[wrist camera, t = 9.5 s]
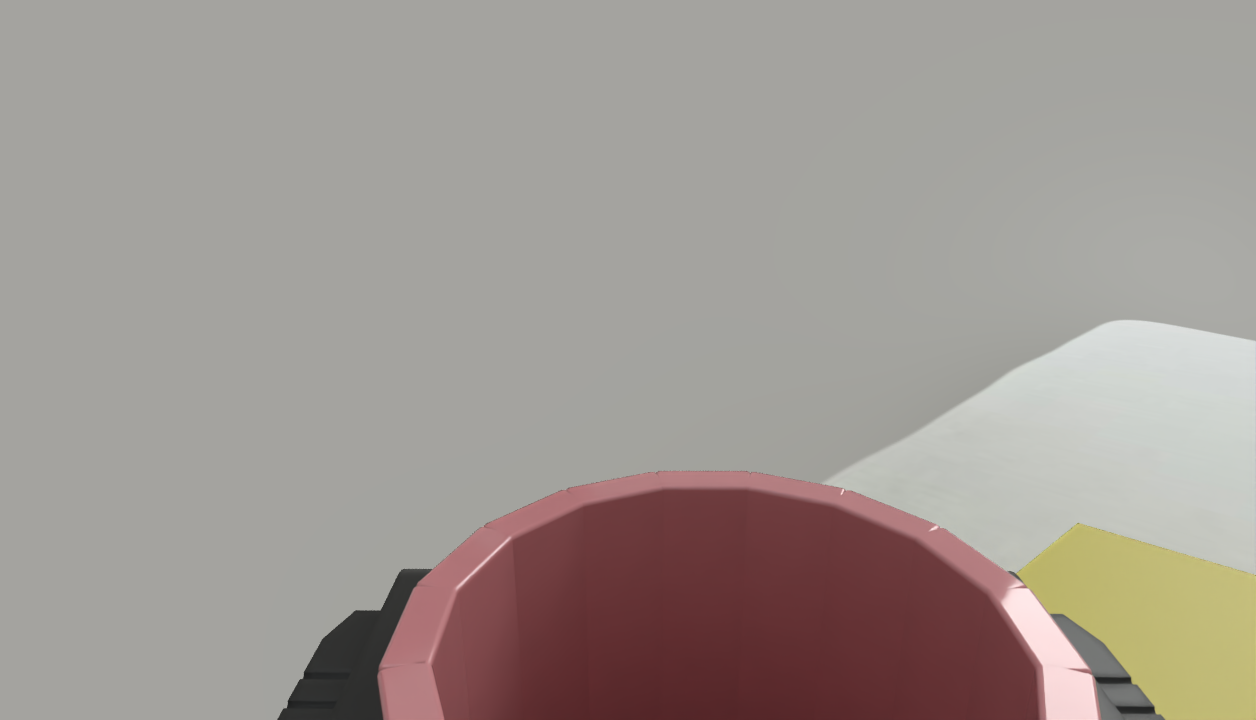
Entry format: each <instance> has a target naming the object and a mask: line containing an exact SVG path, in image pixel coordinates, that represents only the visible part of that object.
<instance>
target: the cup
mask: <svg viewBox="0 0 1256 720" xmlns="http://www.w3.org/2000/svg"><path fill="white" fill-rule="evenodd" d="M378 671H379V672H378V675H377V684H378V691H379V698H380V705H381V713H382V720H1102V718H1101V711H1100V705H1099V699H1098V692H1097V686H1096V681H1095V677H1094V676H1093V675H1092V671H1091V669H1090V667H1089V666H1088V665H1087V663H1086V662H1085V661H1084V659H1083V658H1082V657H1081V655H1080V654H1079V653H1078V651H1077V650H1076V649H1075V647H1074V646H1073V645H1072V643H1071V642H1070V641H1069V639H1068V638H1067V637H1066V635H1065V634H1064V633H1063V631H1062V630H1061V629H1060V627H1059V626H1058V625H1057V623H1056V622H1055V621H1054V619H1053V618H1052V617H1051V615H1050V614H1049V613H1048V611H1047V610H1046V609H1045V607H1044V606H1043V605H1042V603H1041V602H1040V601H1039V599H1038V598H1037V597H1036V595H1035V594H1034V593H1033V591H1032V590H1031V589H1029V588H1027V586H1026V585H1025V584H1024V583H1023V582H1021V581H1020V580H1018V579H1017V578H1016V577H1014V576H1013V575H1011V574H1010V573H1008V572H1007V571H1005V570H1004V569H1003V568H1001V567H1000V566H998V565H997V564H995V563H994V562H993V561H991V560H990V559H988V558H987V557H985V556H984V555H982V554H981V553H980V552H978V551H977V550H975V549H974V548H972V547H971V546H969V545H968V544H967V543H965V542H964V541H962V540H961V539H959V538H958V537H957V536H955V535H954V534H952V533H951V532H949V531H948V530H946V529H944V528H940V526H938V525H937V524H934V523H932V522H929V521H927V520H924V519H922V518H919V517H917V516H914V515H912V514H909V513H906V512H904V511H901V510H899V509H896V508H894V507H891V506H889V505H886V504H884V503H881V502H879V501H876V500H873V499H871V498H868V497H866V496H863V495H861V494H858V493H856V492H853V491H849V490H847V491H845V489H843V488H839V487H833V486H828V485H822V484H817V483H811V482H806V481H801V480H795V479H790V478H784V477H778V476H773V475H768V474H763V473H757V472H751V473H749V472H748V471H658V472H656V473H655V472H648V473H643V474H638V475H633V476H627V477H622V478H617V479H612V480H607V481H602V482H596V483H591V484H586V485H582V486H576V487H571V488H568V489H566V490H561V491H558V492H556V493H554V494H552V495H549V496H547V497H545V498H543V499H540V500H538V501H536V502H534V503H531V504H529V505H527V506H525V507H522V508H520V509H518V510H516V511H514V512H512V513H509V514H507V515H505V516H503V517H500V518H498V519H496V520H494V521H491V522H489V523H487V524H485V525H484V527H481V528H479V529H478V530H476V531H475V532H474V533H473V534H472V535H471V536H470V537H469V538H467V539H466V540H465V541H464V542H463V543H462V544H461V545H459V546H458V547H457V548H456V549H455V550H454V551H453V552H452V553H450V554H449V555H448V556H447V557H446V558H445V559H444V560H443V561H441V562H440V563H439V564H438V565H437V566H436V567H435V568H433V569H432V570H431V571H430V572H429V573H428V574H427V575H425V576H424V577H423V578H422V579H421V580H420V581H419V582H418V583H417V586H416V587H414V588H413V591H412V593H411V595H410V597H409V600H408V602H407V604H406V606H405V609H404V611H403V613H402V615H401V618H400V620H399V622H398V624H397V627H396V629H395V631H394V634H393V636H392V638H391V640H390V643H389V645H388V647H387V649H386V652H385V654H384V656H383V658H382V661H381V663H380V665H379V668H378Z"/></svg>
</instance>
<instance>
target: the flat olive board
mask: <svg viewBox="0 0 1256 720" xmlns="http://www.w3.org/2000/svg"><path fill="white" fill-rule="evenodd" d="M1016 574H1017V575H1018V576H1019V577H1020V579H1021V580H1022V581H1023V583H1024V584H1025V585H1026V586H1027V588H1029V589H1031V590H1032V591H1033V593H1034V594H1035V595H1036V597H1037V598H1038V599H1039V601H1040V602H1041V603H1042V605H1043V606H1044V607H1045V609H1046V610H1047V611H1048V613H1049V614H1064V615H1065V616H1067V617H1068V618H1069V619H1071V620H1072V621H1074V622H1075V623H1076V624H1078V625H1079V626H1081V627H1082V628H1083V629H1085V630H1086V631H1088V632H1089V633H1090V634H1092V635H1093V636H1095V637H1096V638H1097V639H1099V640H1100V641H1102V642H1103V643H1104V644H1105V645H1106V646H1107V648H1108V649H1109V650H1110V651H1111V653H1112V654H1113V655H1114V656H1115V658H1116V659H1117V660H1118V661H1119V663H1120V664H1121V665H1122V666H1123V668H1124V669H1125V670H1126V671H1127V673H1128V674H1129V675H1130V676H1131V681H1132V684H1137V685H1138V686H1139V688H1140V689H1141V690H1142V691H1143V693H1144V694H1145V695H1146V696H1147V698H1148V699H1149V700H1150V701H1151V703H1152V704H1153V705H1154V706H1155V712H1156V714H1161V715H1162V716H1163V717H1164V719H1165V720H1256V575H1254V574H1251V573H1247V572H1244V571H1240V570H1237V569H1233V568H1230V567H1227V566H1223V565H1220V564H1216V563H1213V562H1210V561H1206V560H1203V559H1199V558H1196V557H1192V556H1189V555H1186V554H1182V553H1179V552H1175V551H1172V550H1169V549H1165V548H1162V547H1158V546H1155V545H1151V544H1148V543H1145V542H1141V541H1138V540H1134V539H1131V538H1128V537H1124V536H1121V535H1117V534H1114V533H1111V532H1107V531H1104V530H1100V529H1097V528H1093V527H1090V526H1087V525H1083V524H1080V523H1077V524H1076V525H1075V526H1074V527H1072V528H1071V529H1070V530H1069V531H1067V532H1066V533H1065V534H1064V535H1063V536H1061V537H1060V538H1059V539H1058V540H1056V541H1055V542H1054V543H1053V544H1052V545H1050V546H1049V547H1048V548H1047V549H1045V550H1044V551H1043V552H1042V553H1041V554H1039V555H1038V556H1037V557H1036V558H1034V559H1033V560H1032V561H1031V562H1030V563H1028V564H1027V565H1026V566H1025V567H1023V568H1022V569H1021V570H1020V571H1019V572H1017V573H1016Z"/></svg>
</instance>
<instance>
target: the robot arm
mask: <svg viewBox="0 0 1256 720" xmlns="http://www.w3.org/2000/svg"><path fill="white" fill-rule="evenodd" d="M431 570H432V569H403V570H401V572H400V573H399V574H398V576H397V578H396V580H395V582H394V585H393V586H392V588H391V590H390V593H389V595H388V597H387V599H386V601H385V603H384V605H383V607H382V609H381V611H357V610H356V611H354V612H353V613H352V614H351V615H350V616H349V617H348V618H346V619H345V620H344V621H343V622H342V623H341V624H339V625H338V626H337V627H336V628H335V629H334V630H332V631H331V632H330V633H329V634H328V635H327V636H325V637H324V638H323V639H322V641H321V643H320V645H319V646H318V648H317V650H316V652H315V653H314V655H313V657H312V659H311V661H310V663H309V664H308V666H307V668H306V670H305V671H304V677H303V679H300V680H299V682H298V684H297V686H296V687H295V689H294V691H293V693H292V694H291V696H290V698H289V700H288V706H287V708H285V709H283V710H282V712H281V714H280V716H279V718H278V720H382V713H381V705H380V698H379V691H378V684H377V675H378V672H379V671H378V668H379V665H380V663H381V661H382V658H383V656H384V654H385V652H386V649H387V647H388V645H389V643H390V640H391V638H392V636H393V634H394V631H395V629H396V627H397V624H398V622H399V620H400V618H401V615H402V613H403V611H404V609H405V606H406V604H407V602H408V600H409V597H410V595H411V593H412V591H413V588H414V587H416V586H417V583H418V582H419V581H420V580H421V579H422V578H423V577H424V576H425V575H427V574H428V573H429V572H430V571H431ZM1007 572H1008V573H1010V574H1011V575H1013V576H1014V577H1016V578H1017V579H1018V580H1020V581H1021V582H1023V581H1022V580H1021V579H1020V577H1019V576H1018V575H1017V574H1015V573H1014V572H1011V571H1007ZM1050 615H1051V617H1052V618H1053V619H1054V621H1055V622H1056V623H1057V625H1058V626H1059V627H1060V629H1061V630H1062V631H1063V633H1064V634H1065V635H1066V637H1067V638H1068V639H1069V641H1070V642H1071V643H1072V645H1073V646H1074V647H1075V649H1076V650H1077V651H1078V653H1079V654H1080V655H1081V657H1082V658H1083V659H1084V661H1085V662H1086V663H1087V665H1088V666H1089V667H1090V669H1091V671H1092V675H1093V676H1094V677H1095V681H1096V686H1097V692H1098V699H1099V705H1100V711H1101V718H1102V720H1165V719H1164V717H1163V716H1162V715H1161V714H1156V712H1155V706H1154V705H1153V704H1152V703H1151V701H1150V700H1149V699H1148V698H1147V696H1146V695H1145V694H1144V693H1143V691H1142V690H1141V689H1140V688H1139V686H1138V685H1137V684H1132V681H1131V676H1130V675H1129V674H1128V673H1127V671H1126V670H1125V669H1124V668H1123V666H1122V665H1121V664H1120V663H1119V661H1118V660H1117V659H1116V658H1115V656H1114V655H1113V654H1112V653H1111V651H1110V650H1109V649H1108V648H1107V646H1106V645H1105V644H1104V643H1103V642H1102V641H1100V640H1099V639H1097V638H1096V637H1095V636H1093V635H1092V634H1090V633H1089V632H1088V631H1086V630H1085V629H1083V628H1082V627H1081V626H1079V625H1078V624H1076V623H1075V622H1074V621H1072V620H1071V619H1069V618H1068V617H1067V616H1065V615H1064V614H1050Z"/></svg>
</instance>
